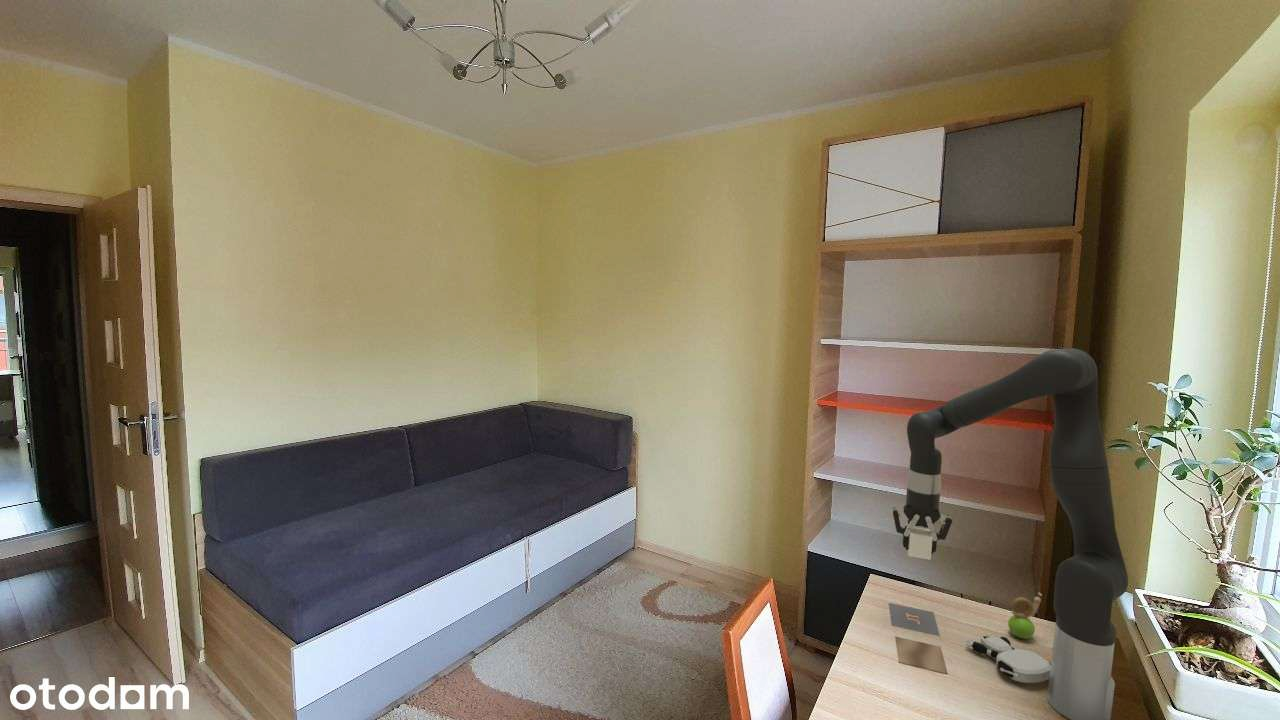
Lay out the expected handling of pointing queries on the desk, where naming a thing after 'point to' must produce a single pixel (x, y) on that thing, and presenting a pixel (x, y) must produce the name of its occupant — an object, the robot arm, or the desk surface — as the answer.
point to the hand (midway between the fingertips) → (918, 550)
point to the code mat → (913, 619)
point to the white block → (920, 543)
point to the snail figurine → (1023, 617)
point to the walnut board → (920, 655)
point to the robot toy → (1013, 659)
